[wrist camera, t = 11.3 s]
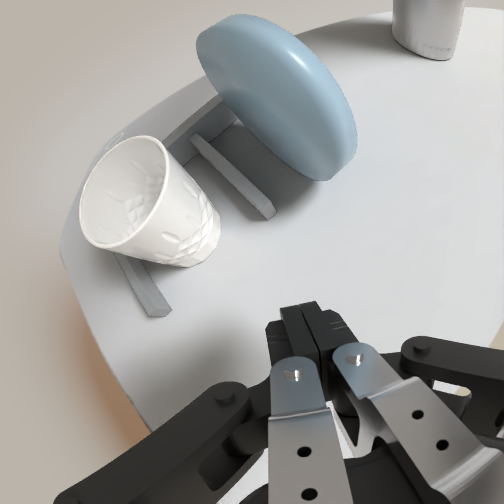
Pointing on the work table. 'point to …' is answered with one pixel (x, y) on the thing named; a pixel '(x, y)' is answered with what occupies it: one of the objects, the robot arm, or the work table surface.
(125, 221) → the white cup
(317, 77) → the dish rack
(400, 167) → the work table surface
